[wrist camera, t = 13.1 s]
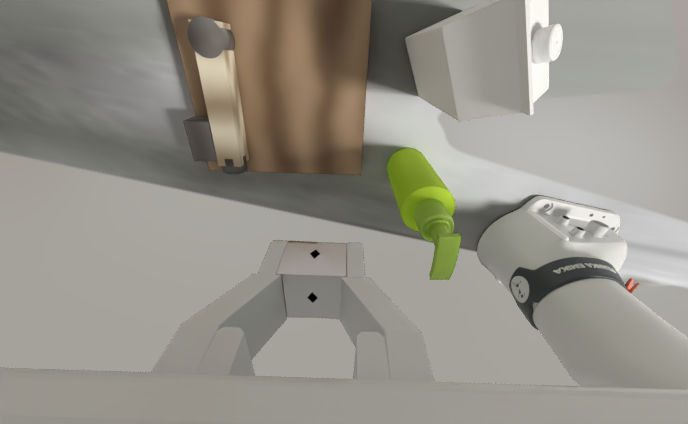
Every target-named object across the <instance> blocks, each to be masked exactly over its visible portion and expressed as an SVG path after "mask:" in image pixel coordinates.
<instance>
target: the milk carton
mask: <svg viewBox="0 0 688 424" xmlns="http://www.w3.org/2000/svg"><path fill="white" fill-rule="evenodd" d="M562 39H563V34H562V28H561V26H560V24H553V25H550V26H548V0H490V1H487V2H485V3H482V4H479V5H477V6H474V7H472V8H469V9H466V10H464V11H462V12H459V13H457V14H455V15H453V16H451V17H449V18H447V19H444V20H442V21H440V22H438V23H436V24H434V25H431V26H429V27H427V28H425V29H423V30H421V31H418V32H416V33H414V34H412V35H410V36H408V37H406V38H405V42H406V46H407V50H408V55H409V59H410V63H411V67H412V71H413V75H414V80H415V84H416V88H417V92H418V96H419V97H420V98H422V99H423V100H425V101H427V102H428V103H430V104H432V105H433V106H435V107H436V108H438V109H440V110H441V111H443V112H445V113H446V114H448V115H450V116H451V117H453V118H454V119H456V120H458V121H459V122H462V121H469V120H475V119H482V118H489V117H496V116H503V115H509V114H516V113H525V114H527V115H532V114H533V103H534V102H535V101H536V100H537V99H538V98H539V97H540V96H541V95H542V94H543V93H544V92H545V91H546V90H547V89H548V88H549V62H550V61H554V60H555V59H557V57H558V56H559V54H560V51H561V48H562Z"/></svg>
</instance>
